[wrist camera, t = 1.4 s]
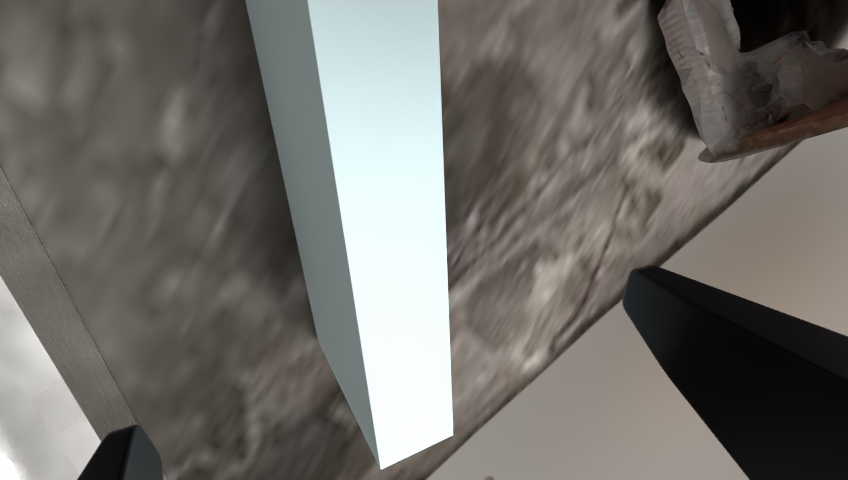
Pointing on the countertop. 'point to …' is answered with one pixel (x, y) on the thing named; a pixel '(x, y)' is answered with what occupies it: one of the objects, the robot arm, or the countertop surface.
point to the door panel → (367, 201)
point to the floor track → (46, 364)
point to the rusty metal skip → (752, 81)
